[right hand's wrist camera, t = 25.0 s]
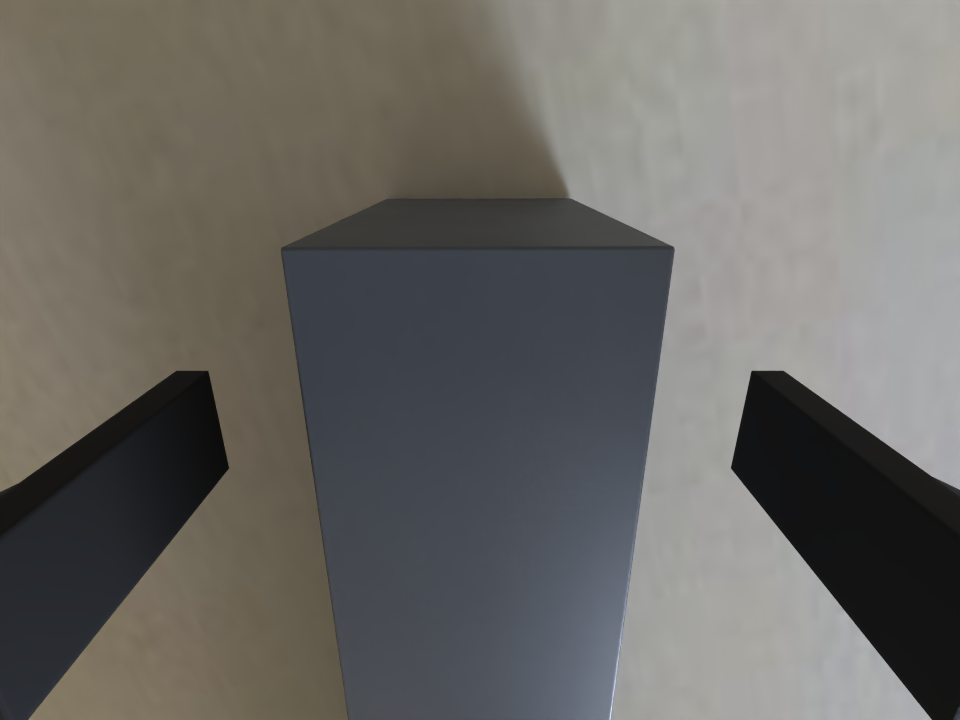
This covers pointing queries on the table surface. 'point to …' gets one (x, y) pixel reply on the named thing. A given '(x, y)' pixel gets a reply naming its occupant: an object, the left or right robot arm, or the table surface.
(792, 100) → the table surface
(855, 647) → the table surface
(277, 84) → the table surface
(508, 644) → the post
